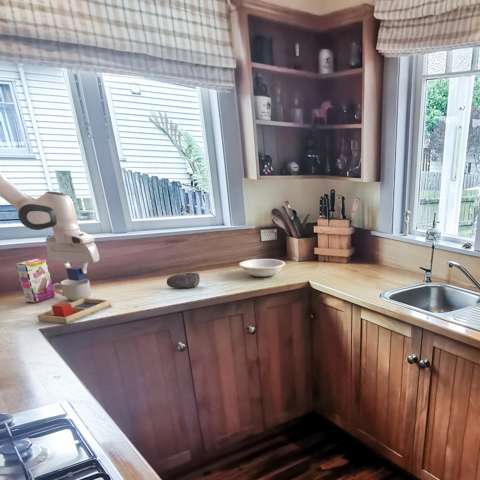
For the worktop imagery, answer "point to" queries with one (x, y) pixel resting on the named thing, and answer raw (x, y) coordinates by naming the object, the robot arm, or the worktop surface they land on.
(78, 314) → the tray
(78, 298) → the teacup
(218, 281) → the worktop surface
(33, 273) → the candy bar box
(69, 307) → the red block
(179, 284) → the perforated stone tool
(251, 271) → the soup bowl
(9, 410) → the worktop surface
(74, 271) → the navy block
